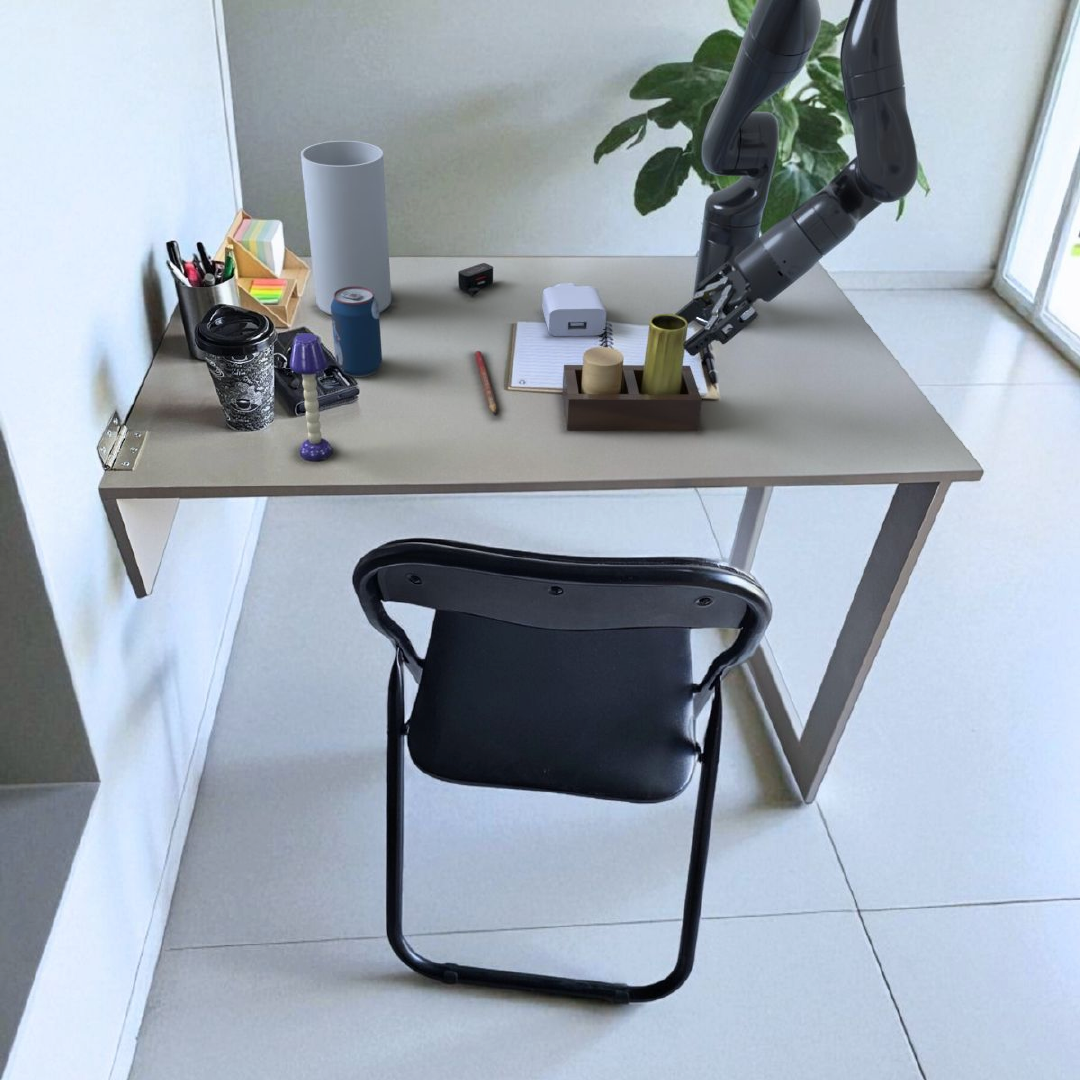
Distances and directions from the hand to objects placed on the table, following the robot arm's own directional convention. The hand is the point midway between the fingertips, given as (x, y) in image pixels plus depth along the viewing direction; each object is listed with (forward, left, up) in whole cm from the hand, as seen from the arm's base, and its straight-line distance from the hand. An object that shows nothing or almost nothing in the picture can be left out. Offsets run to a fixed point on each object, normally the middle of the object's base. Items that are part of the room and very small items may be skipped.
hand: (682, 336), depth 144 cm
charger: (-13, -31, -12) cm, 36 cm away
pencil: (+14, -25, -12) cm, 31 cm away
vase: (+2, -1, -12) cm, 12 cm away
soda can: (+24, -42, -12) cm, 49 cm away
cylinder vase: (+10, -60, -12) cm, 62 cm away
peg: (+8, -8, -12) cm, 16 cm away
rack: (+5, -5, -12) cm, 14 cm away
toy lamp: (+43, -28, -12) cm, 52 cm away
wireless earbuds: (-9, -50, -12) cm, 52 cm away
